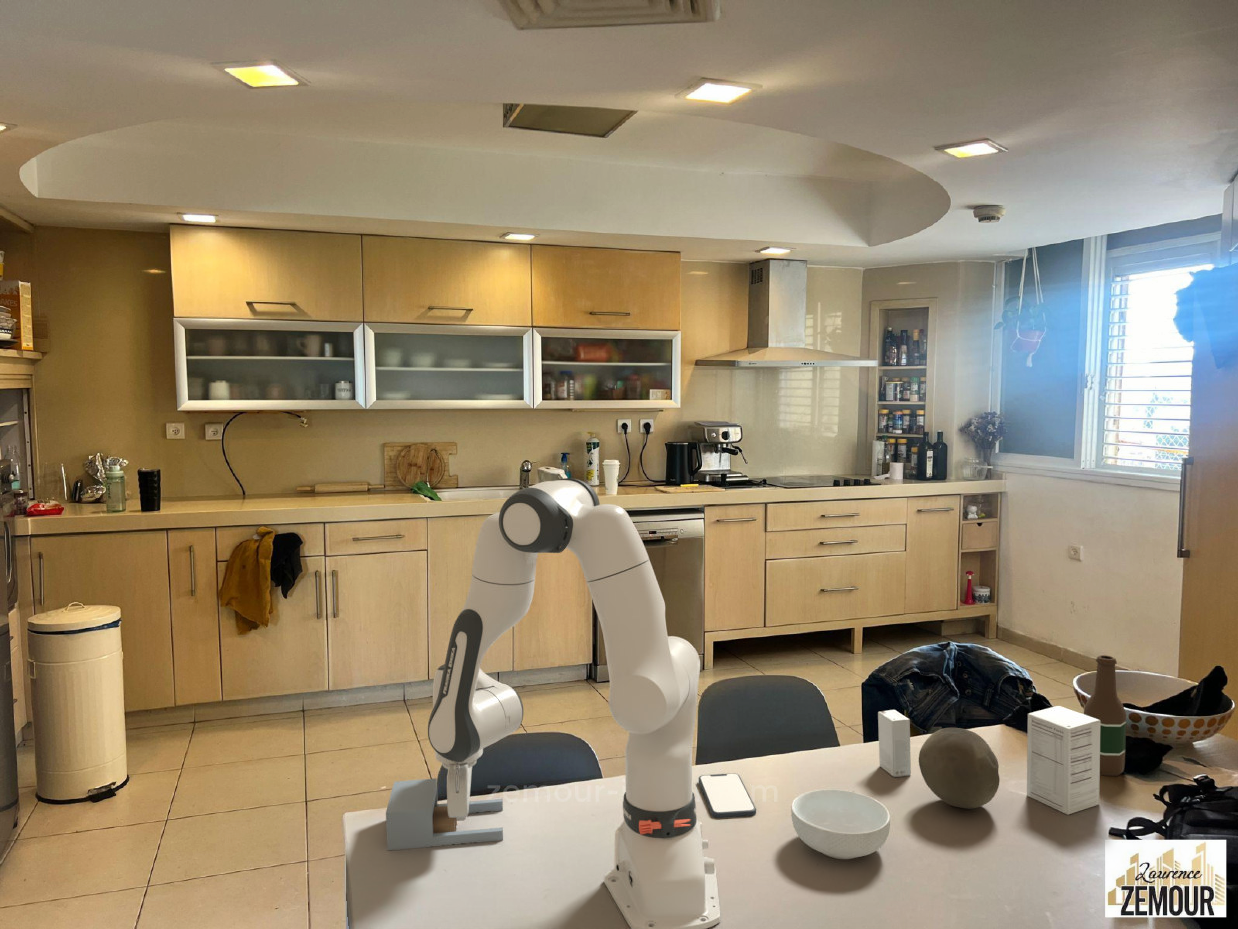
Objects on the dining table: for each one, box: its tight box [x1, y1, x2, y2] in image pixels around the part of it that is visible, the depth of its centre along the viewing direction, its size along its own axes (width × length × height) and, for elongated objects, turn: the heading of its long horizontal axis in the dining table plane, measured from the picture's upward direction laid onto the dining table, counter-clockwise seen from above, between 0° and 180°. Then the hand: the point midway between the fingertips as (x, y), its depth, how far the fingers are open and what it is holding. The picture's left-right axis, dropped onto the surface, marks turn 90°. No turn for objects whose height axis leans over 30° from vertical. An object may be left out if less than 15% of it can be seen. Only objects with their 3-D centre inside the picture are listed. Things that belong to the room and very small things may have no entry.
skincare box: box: [877, 709, 912, 778], centre depth 181 cm, size 6×4×12 cm
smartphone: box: [698, 772, 757, 819], centre depth 171 cm, size 9×2×16 cm
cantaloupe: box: [918, 727, 1000, 810], centre depth 165 cm, size 14×14×15 cm
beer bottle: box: [1083, 655, 1127, 777], centre depth 180 cm, size 8×8×24 cm
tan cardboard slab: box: [433, 806, 458, 833], centre depth 161 cm, size 7×10×3 cm
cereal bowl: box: [790, 788, 891, 860], centre depth 152 cm, size 17×17×7 cm
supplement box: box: [1026, 705, 1101, 816], centre depth 167 cm, size 10×9×17 cm
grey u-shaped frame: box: [385, 777, 504, 851], centre depth 161 cm, size 12×20×7 cm, turn 98°
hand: (461, 817), depth 162 cm, fingers closed
